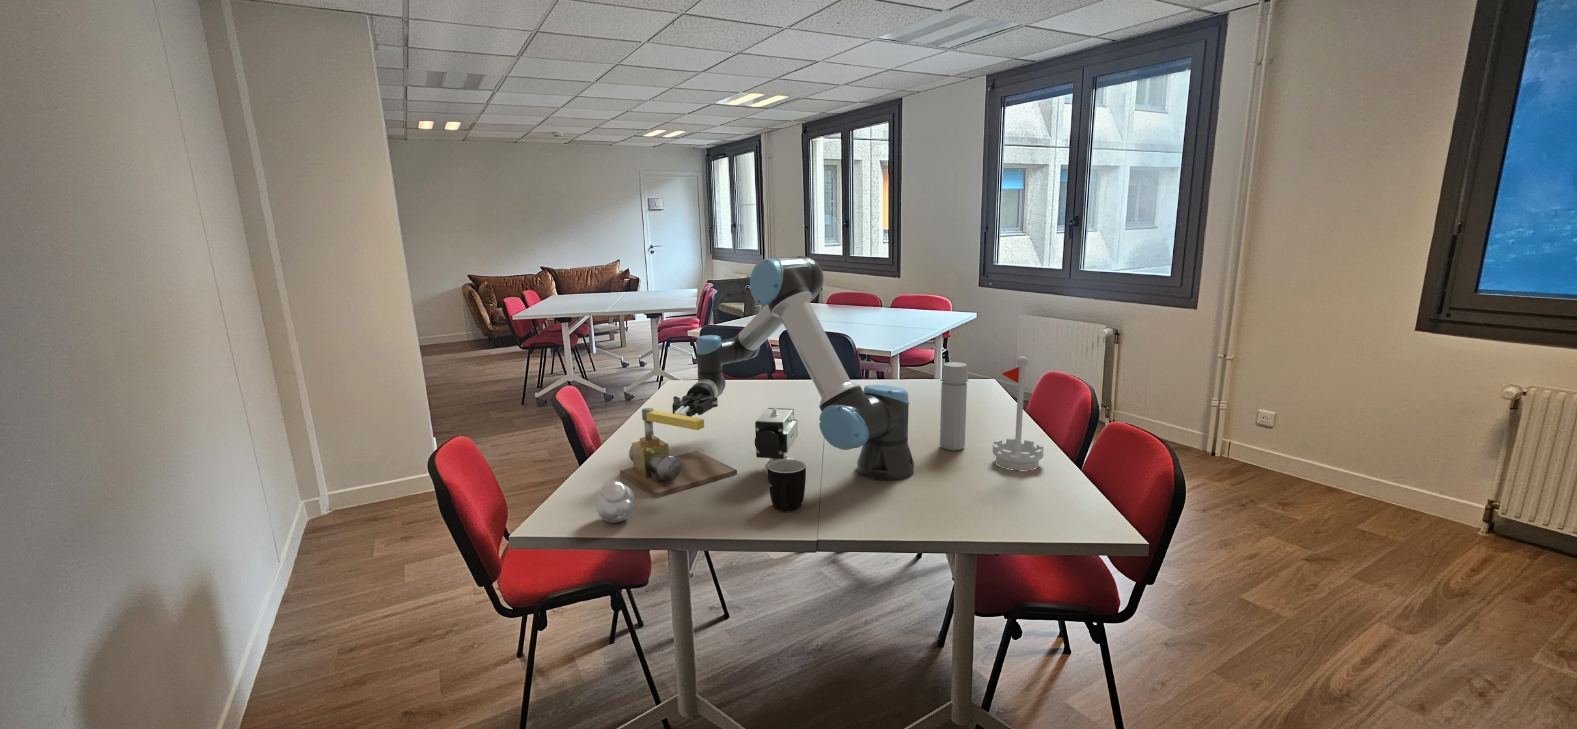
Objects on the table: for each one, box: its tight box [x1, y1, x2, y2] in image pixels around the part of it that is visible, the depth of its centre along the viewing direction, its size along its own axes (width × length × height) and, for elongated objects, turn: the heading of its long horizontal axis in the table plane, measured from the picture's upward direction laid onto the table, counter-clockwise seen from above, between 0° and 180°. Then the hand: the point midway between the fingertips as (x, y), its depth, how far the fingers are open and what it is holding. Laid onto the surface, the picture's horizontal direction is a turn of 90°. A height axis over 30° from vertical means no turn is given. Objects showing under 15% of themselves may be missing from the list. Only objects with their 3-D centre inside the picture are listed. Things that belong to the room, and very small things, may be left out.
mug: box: [767, 459, 807, 512], centre depth 154 cm, size 12×9×10 cm
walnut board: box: [619, 450, 738, 499], centre depth 178 cm, size 24×21×1 cm
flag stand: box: [992, 355, 1044, 470], centre depth 177 cm, size 13×13×30 cm
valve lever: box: [641, 407, 705, 431], centre depth 170 cm, size 20×3×3 cm, turn 57°
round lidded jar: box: [594, 480, 637, 524], centre depth 149 cm, size 9×10×10 cm
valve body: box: [628, 420, 681, 483], centre depth 174 cm, size 7×17×14 cm, turn 38°
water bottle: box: [939, 361, 969, 452], centre depth 193 cm, size 9×8×25 cm
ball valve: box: [754, 407, 799, 476], centre depth 176 cm, size 18×8×18 cm, turn 168°
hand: (678, 418), depth 171 cm, fingers closed
